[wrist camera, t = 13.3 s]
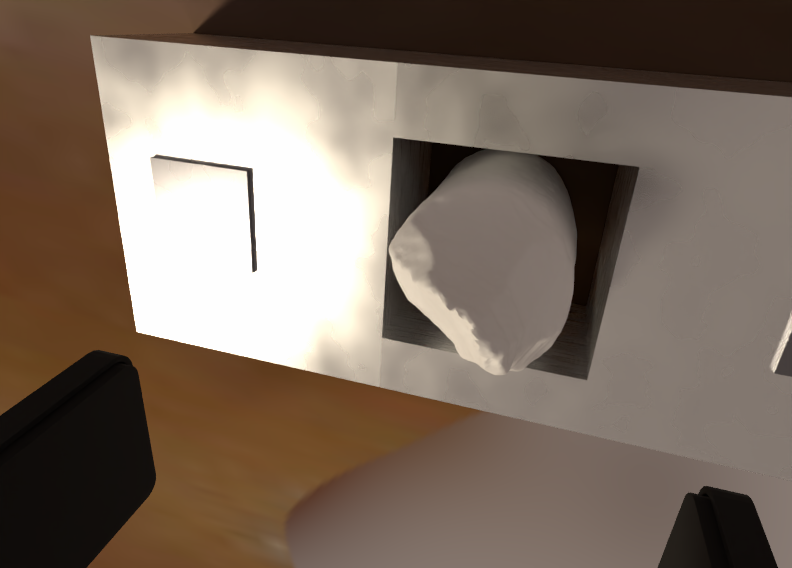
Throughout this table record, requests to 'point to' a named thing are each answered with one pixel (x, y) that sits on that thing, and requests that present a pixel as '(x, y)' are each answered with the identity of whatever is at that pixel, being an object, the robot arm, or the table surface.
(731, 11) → the table surface
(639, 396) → the white block holder
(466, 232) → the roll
